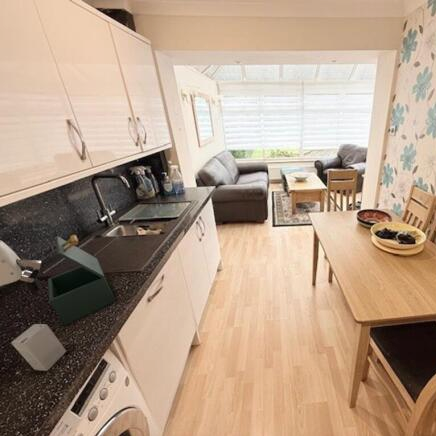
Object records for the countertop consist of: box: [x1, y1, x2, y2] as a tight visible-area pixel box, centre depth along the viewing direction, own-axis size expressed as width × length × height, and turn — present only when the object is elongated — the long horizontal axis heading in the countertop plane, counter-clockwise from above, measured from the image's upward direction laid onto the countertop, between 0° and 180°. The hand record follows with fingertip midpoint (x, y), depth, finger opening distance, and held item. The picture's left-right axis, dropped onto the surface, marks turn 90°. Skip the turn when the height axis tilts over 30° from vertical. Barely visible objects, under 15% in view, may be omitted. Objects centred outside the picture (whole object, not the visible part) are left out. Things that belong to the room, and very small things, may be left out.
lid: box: [54, 234, 105, 278], centre depth 86 cm, size 16×17×5 cm
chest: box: [47, 266, 116, 326], centre depth 89 cm, size 15×17×11 cm
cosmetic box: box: [10, 323, 67, 372], centre depth 67 cm, size 6×4×12 cm
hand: (13, 299), depth 62 cm, fingers open, 9 cm apart
